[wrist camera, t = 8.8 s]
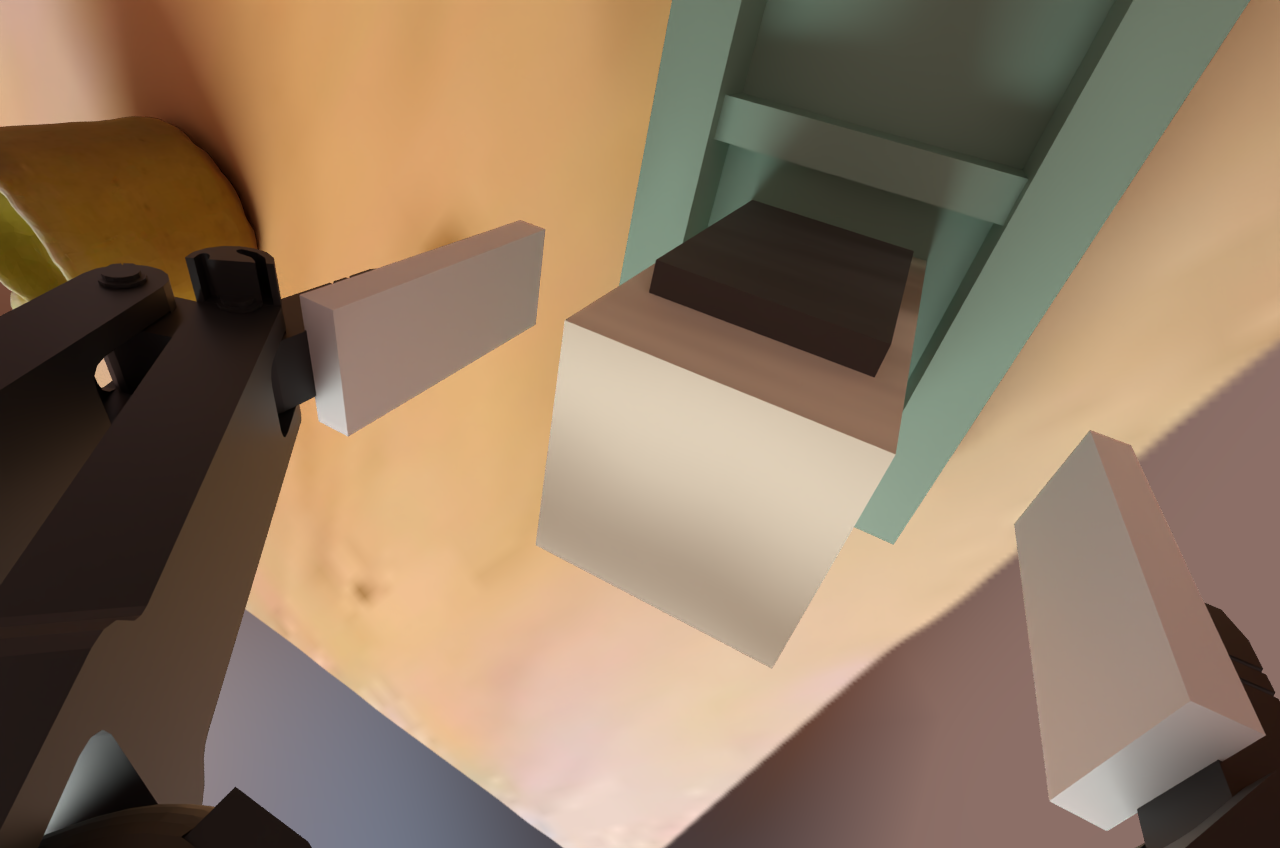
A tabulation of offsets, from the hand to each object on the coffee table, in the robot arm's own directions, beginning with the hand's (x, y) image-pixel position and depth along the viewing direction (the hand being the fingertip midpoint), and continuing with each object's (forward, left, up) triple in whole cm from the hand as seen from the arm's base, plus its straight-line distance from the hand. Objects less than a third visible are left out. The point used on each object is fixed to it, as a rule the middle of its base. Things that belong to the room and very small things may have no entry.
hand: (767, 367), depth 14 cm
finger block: (0, 0, -4) cm, 4 cm away
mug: (+8, -32, -6) cm, 33 cm away
